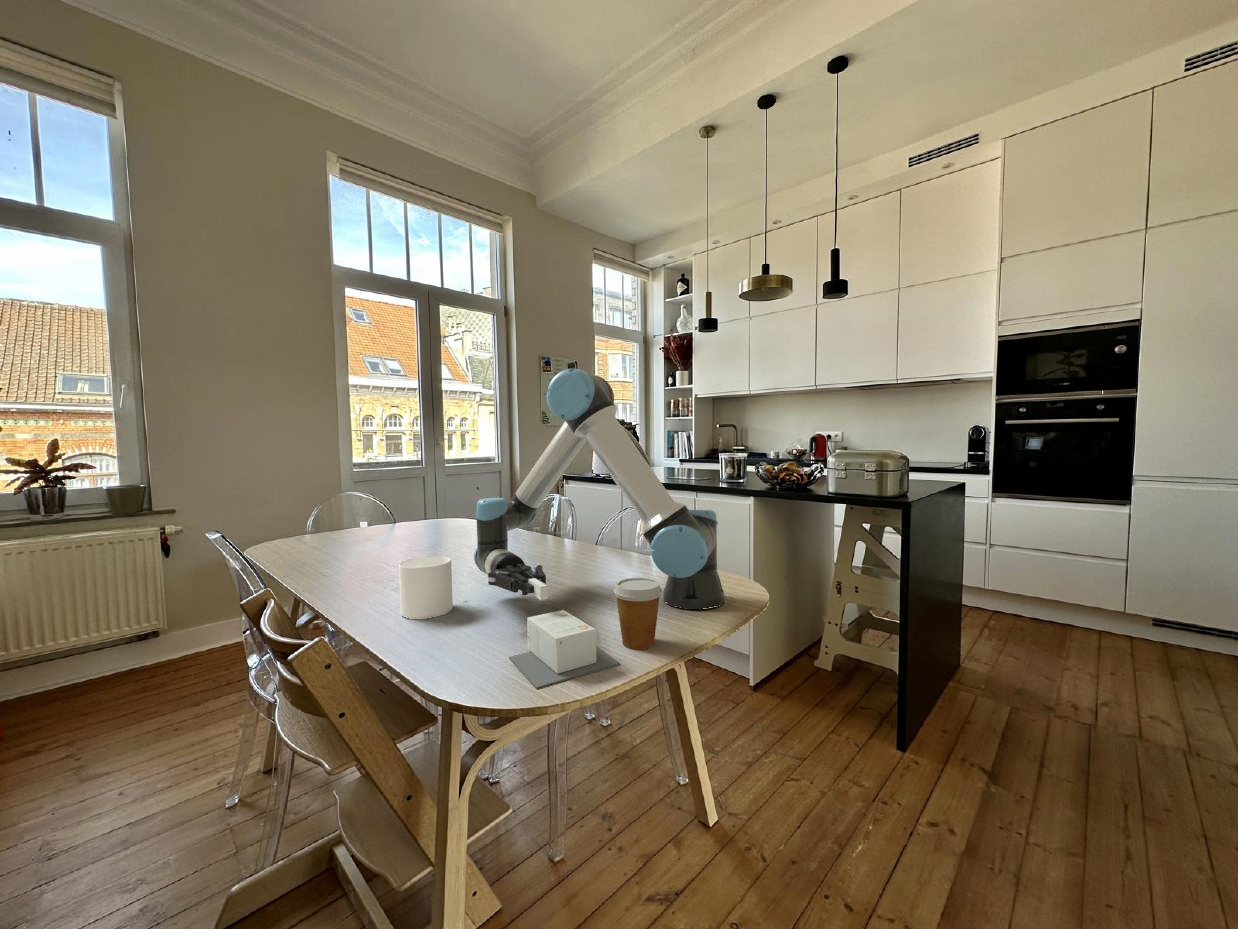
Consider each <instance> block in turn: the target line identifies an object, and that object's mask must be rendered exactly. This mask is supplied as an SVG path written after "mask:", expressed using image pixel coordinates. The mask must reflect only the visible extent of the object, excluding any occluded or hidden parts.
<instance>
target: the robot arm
mask: <svg viewBox="0 0 1238 929" xmlns="http://www.w3.org/2000/svg"><path fill="white" fill-rule="evenodd" d="M548 384H549V385H548V387H547V392H546V402H547V406H548V408H549V410H550V411H551V413H552V414H553V415H554V416H555V417H557V418H558V419H560V420H562V421H564V422H563V424H561V426H560V428H559V429H558V430H557V432H556V434H555V435H554V436H553V438H552V439H551V441H550V442H549V444H548V445H547V447H546V448H545V449H544V451H543V452H542V454H541V455H540V457H539V458H538V459H537V461H536V462H535V464H534V466H533V467H532V469H531V470H530V471H529V473H528V474H527V476H526V477H525V479H524V480H523V481H522V483H521V484H520V486H519V487H518V489H516V492H515V493H514V494H513V495H512V497H511V499H510V500H509V501H508V502H507V499H506V498H504V497H485V498H484V497H483V498H481V499H478V501H477V503H476V512H475V518H476V536H477V537H476V538H477V540H476V541H477V545H476V548H475V550H474V554H473V561H474V563H475V564H474V565H475V566H476V567H477V568H478V569H479V571H480V572H482V573H484V574H486V575H487V578H488V580H487V582H488V584H487V585H489V586H494V587H498V588H501V589H504V590H506V591H509V592H511V593H515V594H516V593H518V592H519V591H521V595H522V596H528V594H530V595H532V596H534V597H535V598H536V599H538V600H539V601H545V600H548V585H547V577H546V576H547V575H546V574H545V572H544V570H543V565H541V564H539V565H536V566H534V567H533V568H532V567H531V565H526V563H525V562H524V560H523V559H522V557H520V556H519V555H517V554H515V553H513V552H512V551H509V548H508V547H509V543H508V541H509V540H508V539H509V537H508V533H509V531H512V530H515V529H518V528H522V527H526V526H528V525H530V524H531V523H533V522H534V521H535V520H536V519H537V516H538V509H539V508H540V506H541V505H542V503H543V502H544V500H545V499H546V498H547V497H548V495H549V493H550V492H551V490H552V489H553V488H554V486H555V485H556V484H557V482H558V481H559V479H560V478H561V477H562V476H563V474H564V472H565V471H566V470H567V468H568V467H569V466H570V464H571V463H572V462H573V459H575V457H576V456H577V454H578V453H579V452H580V450H581V449H582V447H583V446H584V445H585V444H586V442H587V443H588V445H589V446H590V448H591V449H592V450H593V452H594V453H595V455H596V456H597V458H598V460H599V461H600V462H601V464H602V465H603V466H604V468H605V469H606V471H607V472H608V474H609V476H610V477H611V478H612V479H613V482H614V483H615V484H616V486H617V487H618V488H619V490H620V491H621V493H622V494H623V496H624V497H625V499H626V500H627V501H628V503H629V505H630V506H631V508H632V509H633V511H634V512H635V514H636V515H637V516H638V518H639V519H640V521H641V522H642V525H643V526H642V530H641V532H642V533H641V534H642V536H643V537H644V538H645V540H646V541H647V543H648V545H649V546H650V552H651V553H650V554H651V559H652V560H653V563H654V565H655V567H656V568H658V570H659V571H661V572H662V573H663V574H665V575H667V579H666V583H665V587H664V588H663V593H662V594H663V599H664V600H663V602H664V601H665V602H667V603H668V604H670V605H672V606H677V607H681V608H687V609H703V608H709V607H714V606H719V605H721V604H722V603H723V602H724V603H725V591H724V589H723V586H722V581H721V579H720V576H719V572H718V543H717V542H718V540H717V539H718V533H717V532H718V531H717V528H718V527H717V525H718V524H719V522H718V519H717V513H716V512H715V511H714V510H713V509H712V510H710V509H689V508H688V507H687V506H686V504H684V503H680V502H677V501H675V500H674V499H673V497H672V496H671V495H670V494H669V491H668V490H667V489H666V488H665V486H664V484H662V481H661V480H660V479H659V478H658V476H657V474H656V473H655V472H654V470H653V469H652V468H651V466H650V465H649V463H648V461H646V459H645V458H644V456H643V455H642V453H641V452H640V450H639V449H638V447H637V446H636V445H635V443H634V441H632V439H631V438H630V436H629V435H628V433H627V432H626V430H625V429H624V428H623V426H622V425H621V423H620V422H619V421H618V419H617V417H616V414H617V406H616V405H615V393H614V390H613V388H612V386H611V385H610V382H608V381H607V380H606V379H604V378H603V377H601V376H599V375H596V374H592V373H589V372H587V371H585V370H583V369H580V368H568V369H564V370H561V371H560V372H558V373H557V374H555V375H554V377H553V378H552V379H551V380H550V382H549V383H548ZM665 602H664V603H665ZM668 604H667V605H668ZM670 605H669V606H670ZM672 606H671V607H672ZM721 606H722V605H721ZM719 607H720V606H719ZM687 609H686V610H687Z"/></svg>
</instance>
